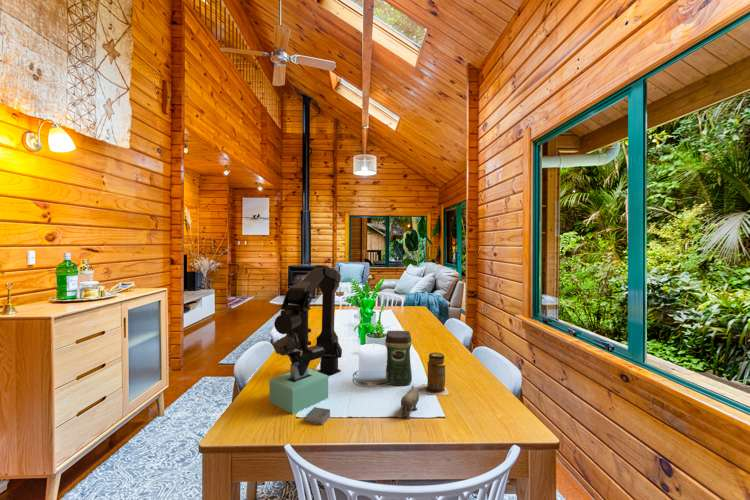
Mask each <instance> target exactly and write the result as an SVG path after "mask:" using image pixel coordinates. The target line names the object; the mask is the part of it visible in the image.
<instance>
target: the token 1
mask: <svg viewBox="0 0 750 500" xmlns="http://www.w3.org/2000/svg"><path fill="white" fill-rule="evenodd" d="M289 367H290V369H289V370H290V371H289V372H290V380H291V381H294V382H296V381H299V380H301V379H304V378H307V377H308V368H309V366H308V367H307V369H306V371H305V374H304V375H303V376H300V370H299V362H296V363H293V364H292V363H291V364H290V366H289Z"/></svg>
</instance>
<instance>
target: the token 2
mask: <svg viewBox="0 0 750 500" xmlns="http://www.w3.org/2000/svg"><path fill="white" fill-rule="evenodd" d="M330 417H331V409H330V408H329V409H328V408H324V407H315V406H314V407H313V408H311V410H310V411H309V412H308V413H307V414H306V416H305V419H306V420H305V423H308V424H314V425H319V426H323V425H324V424H325V423H326V422H327V421H328V420H329V419H330Z"/></svg>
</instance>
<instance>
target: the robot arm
mask: <svg viewBox="0 0 750 500" xmlns="http://www.w3.org/2000/svg"><path fill="white" fill-rule="evenodd" d="M341 277H342V276H341V273H340V272H339V271H338V270H337V269H334V268H331V267H330V266H329V265H326V264H316V265H313V267H312V270H311V271H310V272H309V273H308V274H307V275H306V276H305V278H303V279H302V281H300V282H297V283H295V284H293V285H291V286H290V287H288V289H287V290H286V292H285V296H284V299H283V301H282V304H281V307H280V315H278V316H277V317H276V318H275V320H274V328H275V331H276V332H277V333H279V334H281V335H285V336H283V337H281V338H279V339H277V340H276V341H275V342H273V344H272V346H273V348H274V351H275V354H277V355H280V356H287V357H288V358H289V361H290V362H291V364H293V363H296V362H299V370H300V376H303V375H304V374H305V371H306V369H307V367H308V368H309V365H310V363H311V361H315V360H317V359H320V361H319V370H318V371H317V372H320V373H322V374H325V375H328V377H329V376H331V375H335V374H337V373H340V372H341V371H342V370H341V369H339V359H340V358H342V355H343V349H342V347H341V345H340V343H339V337H338V335H337V332H336V331H335V309H336V308H335V306H336V305H335V304H336V302H335V301H336V299H335V298H336V292H337V290H338V289H339V287H340V282H341V279H342V278H341ZM317 287H318V288H319V289H320V291H321V293H322V296H321V297H322V303H321V304H322V305H321V306H322V307H321V332H320V333H319V335H317V336H316V340H315V341H316V343H315V345H312V341H310V340H309V333H312V329H311V328H309V311H310V310H311V307H310V305H311V302H312V301H313V298H314V293H313V292H314V291H315V290H316V288H317ZM311 345H312V346H311Z"/></svg>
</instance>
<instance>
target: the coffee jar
mask: <svg viewBox="0 0 750 500" xmlns="http://www.w3.org/2000/svg"><path fill="white" fill-rule="evenodd" d="M412 343H413V342H412V336H411V332H410V330H387V331H386V333H385V342H384V344H385V346H386V364H387V365H386V367H385V382H386V383H387V384H389V385H392V386H393V385H397V386H404V385H405V386H407V385H409V384H411V383H412V382H413V381H412V380H413V375H412V365H411V347H412Z"/></svg>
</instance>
